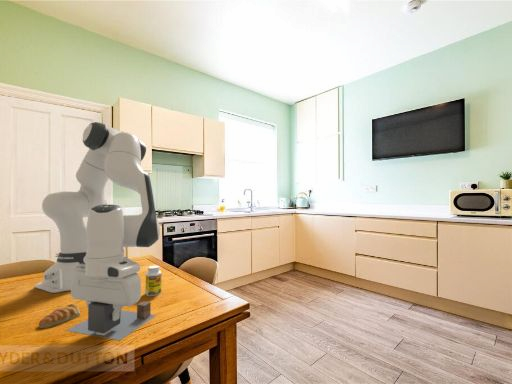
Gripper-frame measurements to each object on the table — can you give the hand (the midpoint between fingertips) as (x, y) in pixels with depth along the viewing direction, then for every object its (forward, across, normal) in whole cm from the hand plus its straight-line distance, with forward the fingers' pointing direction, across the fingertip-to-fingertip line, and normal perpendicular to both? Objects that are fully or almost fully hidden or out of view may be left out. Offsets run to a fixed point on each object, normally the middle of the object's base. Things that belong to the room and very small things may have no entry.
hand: (104, 318), depth 66 cm
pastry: (+5, -19, +2) cm, 19 cm away
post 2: (+4, +4, +10) cm, 11 cm away
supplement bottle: (+4, -6, +27) cm, 28 cm away
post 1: (+4, 0, 0) cm, 4 cm away
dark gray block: (+2, 0, 0) cm, 2 cm away
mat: (+4, -2, +5) cm, 7 cm away
